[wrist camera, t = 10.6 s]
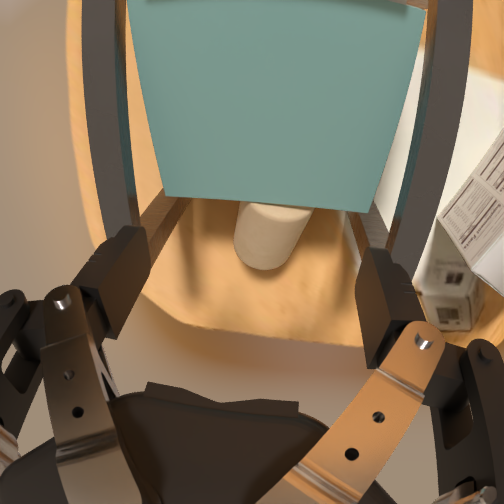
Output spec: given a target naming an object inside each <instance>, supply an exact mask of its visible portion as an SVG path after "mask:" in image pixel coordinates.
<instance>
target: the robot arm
mask: <svg viewBox="0 0 504 504" xmlns="http://www.w3.org/2000/svg"><path fill="white" fill-rule="evenodd" d="M150 270H151V258H150V253H149V247H148V241H147V235H146V230H145V228H144V227H143V226H131V225H124V226H123V227H122V228H121V229H120V231H119V232H118V233H117V234H116V236H115V237H111V238H109V239H108V240H106V241H105V242H103V243H102V244H100V246H99V247H98V248H97V249H96V251H95V252H94V255H92V256H91V257H90V259H89V261H88V262H86V264H85V265H84V266H83V268H82V269H81V270H80V272H79V273H78V274H77V276H76V277H75V278H74V280H73V281H72V282H71V284H70V285H62V286H59V287H56V288H54V289H53V290H51V291H50V292H49V293H48V294H47V295H46V296H45V298H44V300H37V301H27V299H26V297H25V295H24V293H23V292H22V291H20V290H17V289H14V290H9V291H7V292H5V293H3V294H1V295H0V504H397V503H396V502H395V501H394V500H393V499H392V498H391V497H390V496H389V495H388V493H386V491H385V490H384V489H383V488H382V487H381V486H380V485H379V483H378V482H377V481H376V480H375V478H376V477H377V475H378V474H379V473H380V471H381V470H382V468H383V467H384V465H385V464H386V462H387V461H388V459H389V458H390V456H391V454H392V453H393V452H394V450H395V448H396V447H397V445H398V443H399V442H400V440H401V439H402V437H403V435H404V434H405V432H406V430H407V428H408V427H409V425H410V423H411V422H412V420H413V418H414V416H415V414H416V413H417V411H418V409H419V407H420V405H421V404H423V405H427V406H430V410H431V417H432V424H433V432H434V439H435V449H436V459H437V470H438V485H439V486H438V487H439V497H438V498H437V499H435V501H434V502H433V503H432V504H504V363H503V360H502V357H501V355H500V352H499V351H498V349H497V348H496V347H495V346H494V345H493V344H492V343H490V342H489V341H487V340H484V339H474V340H472V341H471V342H470V343H469V345H468V346H467V348H463V347H459V346H456V345H452V344H449V343H446V342H445V339H444V336H443V334H442V333H441V332H440V330H439V329H438V328H436V327H435V326H434V325H432V324H430V323H428V322H427V321H426V318H425V316H424V313H423V310H422V308H421V305H420V302H419V300H418V297H417V294H415V289H414V287H413V285H412V282H411V279H410V277H409V274H408V273H407V272H406V270H405V269H404V268H403V267H402V266H401V265H400V264H397V263H393V261H392V258H391V256H390V253H389V251H388V249H386V248H376V247H366V249H365V251H364V255H363V258H362V262H361V266H360V269H359V273H358V276H357V279H356V284H355V300H356V305H357V310H358V316H359V321H360V327H361V333H362V339H363V345H364V351H365V357H366V364H367V369H376V370H375V371H374V372H373V374H372V375H371V377H370V378H369V379H368V381H367V382H366V383H365V385H364V386H363V387H362V389H361V390H360V392H359V393H358V394H357V396H356V397H355V398H354V399H353V401H352V402H351V403H350V404H349V406H348V407H347V408H346V410H345V411H344V412H343V413H342V414H341V416H340V417H339V418H338V419H337V420H336V422H335V423H334V424H333V425H332V426H331V428H329V427H328V426H326V425H325V424H323V423H322V422H320V421H319V420H317V419H315V418H313V417H311V416H308V415H306V414H303V413H300V412H298V406H299V402H296V401H281V400H269V399H254V400H245V401H236V402H225V403H219V402H215V401H213V400H210V399H208V398H205V397H202V396H200V395H198V394H195V393H193V392H190V391H188V390H185V389H183V388H178V387H173V386H168V385H162V384H157V383H153V382H148V383H147V385H146V388H145V391H144V392H134V393H129V394H125V395H122V396H120V394H119V392H118V390H117V387H116V384H115V382H114V379H113V376H112V373H111V370H110V367H109V363H108V360H107V357H106V354H105V351H104V348H103V345H102V342H103V340H104V338H110V339H115V340H117V338H118V335H119V334H120V331H121V330H122V327H123V325H124V323H125V321H126V319H127V317H128V315H129V314H130V312H131V309H132V308H133V306H134V303H135V302H136V300H137V298H138V296H139V294H140V292H141V290H142V288H143V286H144V284H145V283H146V281H147V279H148V277H149V274H150ZM11 344H13V345H14V347H15V348H16V350H17V351H16V353H15V355H14V357H13V358H12V360H11V362H10V364H9V366H8V367H7V369H6V371H5V373H4V374H3V372H2V368H1V365H2V360H3V358H4V356H5V354H6V353H7V351H8V349H9V347H10V346H11ZM42 378H43V381H44V387H45V393H46V399H47V405H48V410H49V415H50V420H51V424H52V429H53V433H54V437H53V438H51V439H49V440H48V441H46V442H45V443H43V444H42V445H40V446H38V447H36V448H35V449H33V450H32V451H30V452H28V453H27V454H25V455H24V456H22V457H21V455H20V453H19V452H18V443H17V438H18V435H19V433H20V430H21V428H22V425H23V422H24V420H25V418H26V415H27V413H28V410H29V408H30V406H31V403H32V401H33V399H34V396H35V394H36V392H37V389H38V387H39V385H40V383H41V380H42ZM469 403H470V405H469ZM470 407H471V409H470ZM471 411H472V414H471ZM472 416H473V419H472Z"/></svg>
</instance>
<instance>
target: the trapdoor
mask: <svg viewBox="0 0 504 504" xmlns="http://www.w3.org/2000/svg"><path fill="white" fill-rule="evenodd" d="M406 2H407V0H127V5H128V13H129V19H130V26H131V33H132V39H133V45H134V51H135V57H136V62H137V68H138V73H139V79H140V84H141V89H142V94H143V99H144V104H145V109H146V114H147V119H148V123H149V128H150V132H151V137H152V141H153V146H154V150H155V155H156V159H157V163H158V167H159V171H160V175H161V180H162V184H163V188H164V191H165V195H166V196H172V197H191V198H207V199H222V200H236V201H250V202H262V203H274V204H285V205H296V206H306V207H316V208H326V209H335V210H344V211H353V212H361V213H368V212H369V209H370V206H371V203H372V201H373V198H374V195H375V192H376V190H377V187H378V184H379V181H380V178H381V175H382V172H383V169H384V167H385V164H386V161H387V158H388V154H389V151H390V148H391V145H392V142H393V139H394V136H395V132H396V129H397V126H398V123H399V119H400V116H401V112H402V109H403V105H404V102H405V98H406V95H407V91H408V87H409V84H410V80H411V76H412V72H413V68H414V64H415V60H416V56H417V51H418V47H419V43H420V38H421V34H422V29H423V24H424V19H425V14H426V11H424V10H422V9H421V8H418V7H414V6H411V5H407V4H406Z"/></svg>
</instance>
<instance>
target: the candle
mask: <svg viewBox="0 0 504 504" xmlns="http://www.w3.org/2000/svg"><path fill="white" fill-rule="evenodd" d="M314 209H315V207H306V206H296V205H285V204H274V203H262V202H250V201H240V204H239V210H238V216H237V221H236V227H235V233H234V240H233V244H234V249H235V252H236V254H237V255H238V257H239V258H240V259H241V260H242V261H243V262H244V263H245V264H247V265H248V266H250V267H252V268H255V269H259V270H271V269H275V268H277V267H279V266H281V265H282V264H284V263H285V262H286V261H287V259H288V258H289V256H290V254H291V252H292V251H293V249H294V247H295V245H296V243H297V241H298V239H299V238H300V236H301V234H302V232H303V230H304V228H305V226H306V224H307V222H308V221H309V219H310V217H311V215H312V213H313V211H314Z"/></svg>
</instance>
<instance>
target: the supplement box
mask: <svg viewBox="0 0 504 504" xmlns="http://www.w3.org/2000/svg"><path fill="white" fill-rule="evenodd" d="M437 219H438V220H439V222H440V223H441V225H442V226H443V228H444V229H445V231H446V232H447V234H448V235H449V237H450V238H451V240H452V242H453V243H454V245H455V246H456V248H457V249H458V251H459V252H460V254H461V256H462V257H463V259H464V260H465V262H466V264H467V265H468V267H469V268H470V270H471V271H472V272H473V273H474V274H475V275H477V276H478V277H479V278H481V279H482V280H483V281H484V282H486V283H487V284H488V285H490V286H491V287H492V288H493V289H494V290H495V291H497V292H498V293H499V294H500V295H502V296H503V297H504V128H503V129H502V131H501V132H500V134H499V135H498V137H497V138H496V140H495V141H494V143H493V144H492V145H491V147H490V148H489V150H488V151H487V153H486V154H485V155H484V157H483V158H482V160H481V161H480V163H479V164H478V165H477V167H476V168H475V169H474V171H473V172H472V173H471V175H470V176H469V177H468V179H467V180H466V181H465V183H464V184H463V185H462V187H461V188H460V189H459V191H458V192H457V193H456V195H455V196H454V197H453V198H452V200H451V201H450V202H449V203H448V205H447V206H446V207H445V208H444V209H443V211H442V212H441V213H440V214H439V215H438V216H437Z"/></svg>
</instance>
